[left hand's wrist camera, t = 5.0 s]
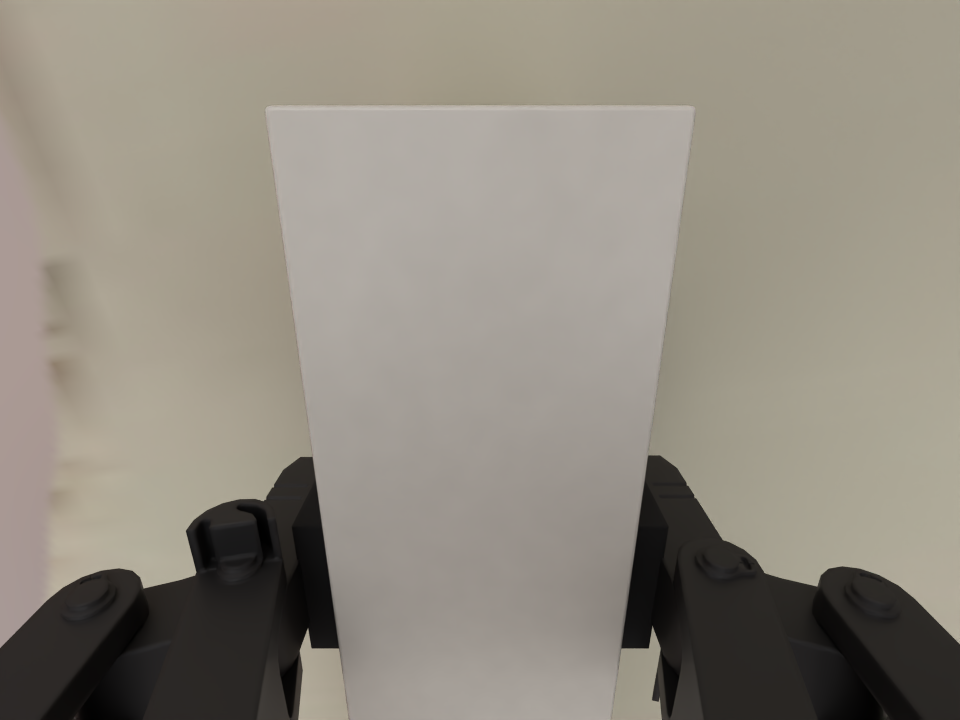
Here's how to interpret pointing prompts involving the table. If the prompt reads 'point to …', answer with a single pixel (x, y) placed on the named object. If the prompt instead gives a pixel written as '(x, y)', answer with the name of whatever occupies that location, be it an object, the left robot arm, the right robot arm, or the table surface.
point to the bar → (480, 387)
